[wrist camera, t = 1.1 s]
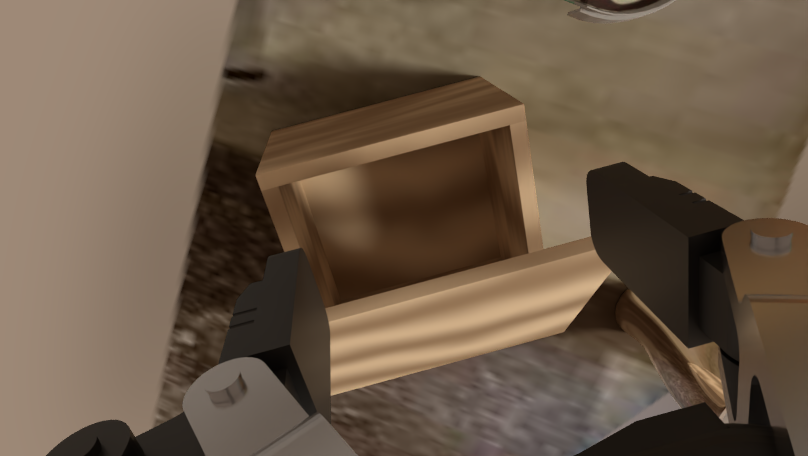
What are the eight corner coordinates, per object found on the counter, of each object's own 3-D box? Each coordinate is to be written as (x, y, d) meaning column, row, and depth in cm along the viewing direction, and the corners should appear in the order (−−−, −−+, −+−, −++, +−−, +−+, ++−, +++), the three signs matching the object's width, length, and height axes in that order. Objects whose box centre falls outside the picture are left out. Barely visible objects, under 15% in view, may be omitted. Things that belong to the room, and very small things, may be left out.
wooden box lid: (237, 332, 22) (238, 346, 22) (631, 225, 23) (637, 238, 22) (327, 387, 38) (328, 396, 38) (560, 323, 38) (563, 331, 38)
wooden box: (269, 132, 40) (252, 176, 31) (479, 76, 40) (524, 104, 31) (330, 307, 47) (331, 384, 38) (510, 258, 47) (553, 324, 38)
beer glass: (597, 328, 52) (693, 451, 38) (631, 266, 49) (747, 375, 36) (657, 342, 53) (769, 465, 40) (693, 283, 51) (825, 393, 37)
